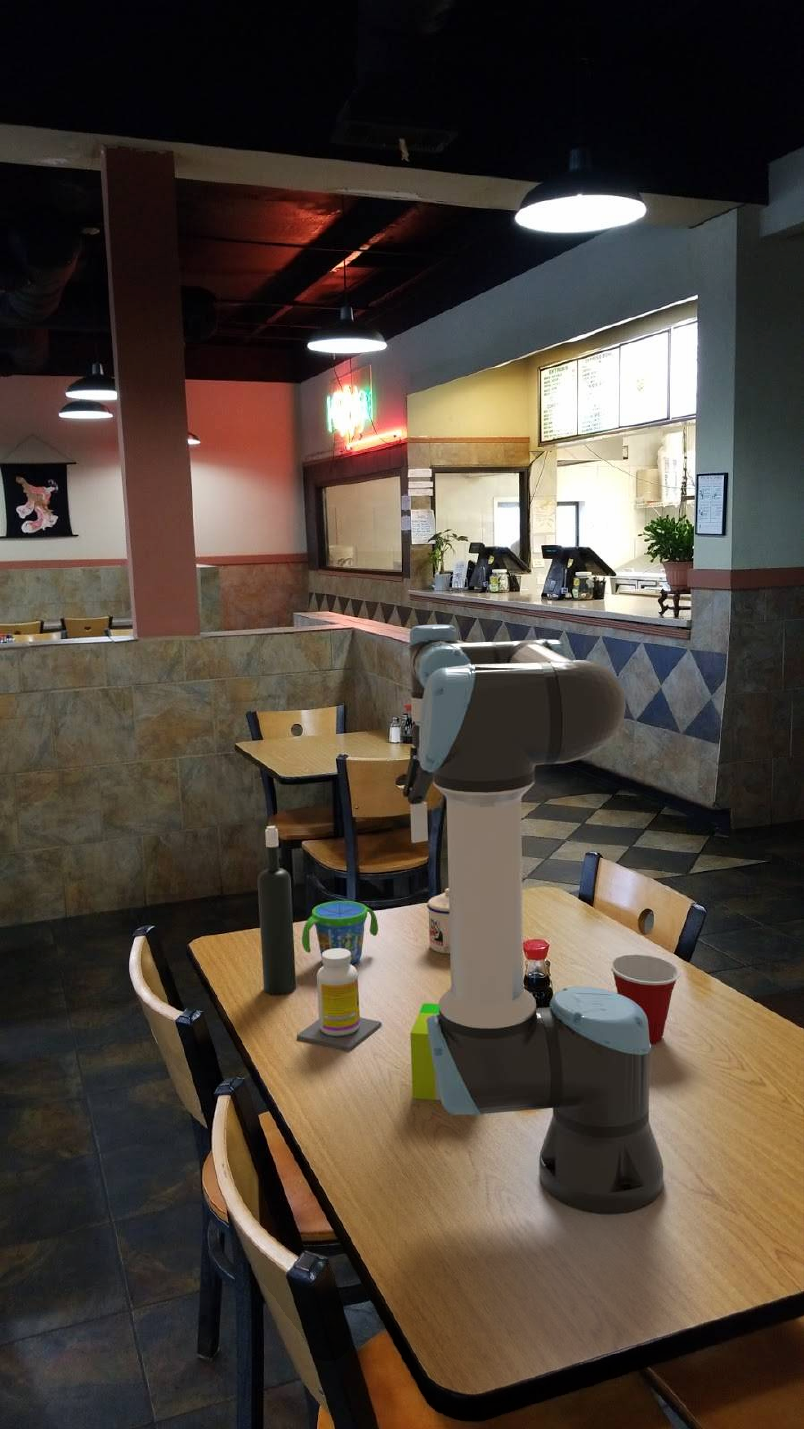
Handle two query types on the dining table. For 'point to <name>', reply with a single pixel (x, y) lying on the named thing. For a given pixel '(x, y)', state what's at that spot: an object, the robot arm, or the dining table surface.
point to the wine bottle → (276, 922)
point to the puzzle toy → (423, 1056)
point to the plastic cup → (647, 987)
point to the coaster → (340, 1042)
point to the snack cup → (340, 927)
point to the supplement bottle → (338, 993)
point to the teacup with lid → (439, 923)
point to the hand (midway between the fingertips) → (439, 851)
